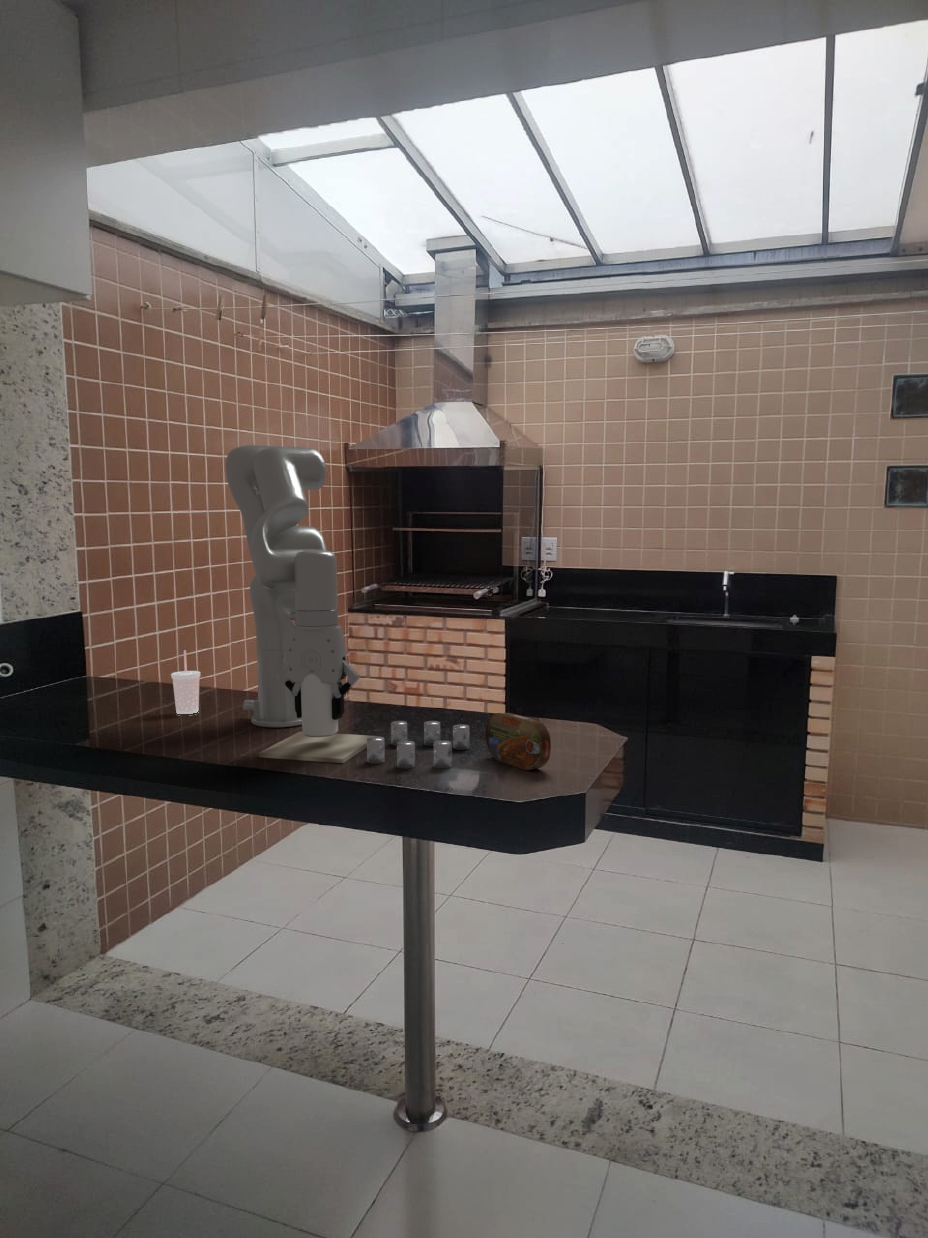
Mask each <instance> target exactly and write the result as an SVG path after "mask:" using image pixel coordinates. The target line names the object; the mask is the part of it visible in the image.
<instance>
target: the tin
mask: <svg viewBox="0 0 928 1238" xmlns="http://www.w3.org/2000/svg"><path fill="white" fill-rule="evenodd" d="M485 726H486V727H485V742H486V746H487V749H488V752H489V754H490V755H491V756H492V758H494V760H496V761H498V762H501V763H503V764H507V765H510V766H512V767H516V768H518V769H521V770H523V771H532V770H534V769H535V770H537V769H540V768H542V767H544V766H545V765H546V764H547V763H548V761H549V759H550V756H551V748H552V742H551V735H550V732H549V730H548V728H547V727H546V726H545V724H544V723H543V722H541V721H539V720H537V719H534V718H530V717H527V716H522V715H519V714H516V713H515V714H514V713H511V712H503V713H502V712H496V713H494V714H492V715H491V716H490V717H489V719H488V721H487V723H486V725H485Z"/></svg>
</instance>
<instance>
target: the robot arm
mask: <svg viewBox="0 0 928 1238" xmlns="http://www.w3.org/2000/svg"><path fill="white" fill-rule="evenodd" d="M327 469H328V468H327V464H326V462H325V459H324V457H323V455H322V453H321V452H319V451H318V450H317V449H315V448H307V447H299V446H279V445H260V444H259V445H257V444H251V445H240V446H238V447H235V448H232V449H231V450H230V451H229V452H228V454H227V457H226V461H225V474H226V479H227V485H228V488H229V491H230V493H231V495H232V498H233V500H234V502H235V504H236V505H237V507H238V509H239V511H240V513H241V516H242V519H243V525H244V530H245V531H244V532H245V536H246V540H247V545H248V547H247V548H248V551H249V555H250V560H251V561H252V564H253V568H254V572H255V576H254V577H253V578H252V580H251V582H250V586H249V594H250V602H251V605H252V612H253V617H254V626H255V639H256V641H255V642H256V662H257V663H256V667H257V668H256V669H257V670H256V671H257V672H256V673H257V692H258V694H257V695H258V698H257V699H255V700H254V699H245V700H244V701H243V703H242V709H243V711H249V712H250V711H252V712H253V715H252V716H251V718H250V719H251V721H250V723H252V724H253V725H254V726H258V727H263V728H288V727H296V726H302V708H301V683H302V682H304V678H305V677H306V676H308V675H310V674H314V675H316V676H317V677H318V678H319V679H320V680H321V682H322V683H324V684H331V689H332V691H333V693H334V698H332V719H333V720H337V719H338V720H339V719H340V718H342V717H343V715H344V713H345V696H346V695H347V693H348V692H349V691H350V690H351V689H352V688H353V687H354V685H355V684H357V683H358V681H359V680H360V679H361V676H360V674H359V673H358V672H357V671H356V670H355V669H354V668H353V667H352V666H351V665H350V664H349V663H348V659H347V657H348V656H347V649H346V648H347V647H346V641H345V635H344V631H343V628H342V626H341V625H339V609H338V608H339V604H338V603H339V602H338V564H337V563H338V562H337V561H338V560H337V556H336V555H335V553H334V552H333V551H329V550H328V548H327V544H326V541H325V538H324V536H323V534H322V532H321V531H320V530H318V529H317V528H316V527H313V526H310V525H309V526H308V525H298V524H300V523H301V522H303V521H304V520H305V519H306V517H307V515H309V514H308V513H309V503H308V500H307V497H306V493H305V490H306V491H310V490H311V491H312V490H313V491H317V490H321V488H323V487H324V485H325V483H326V481H327V473H328V471H327ZM293 621H294V622H293ZM310 671H314V672H310ZM347 677H348V679H347V681H346V682H345V683H344V682H343V680H344V679H346V678H347Z"/></svg>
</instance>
